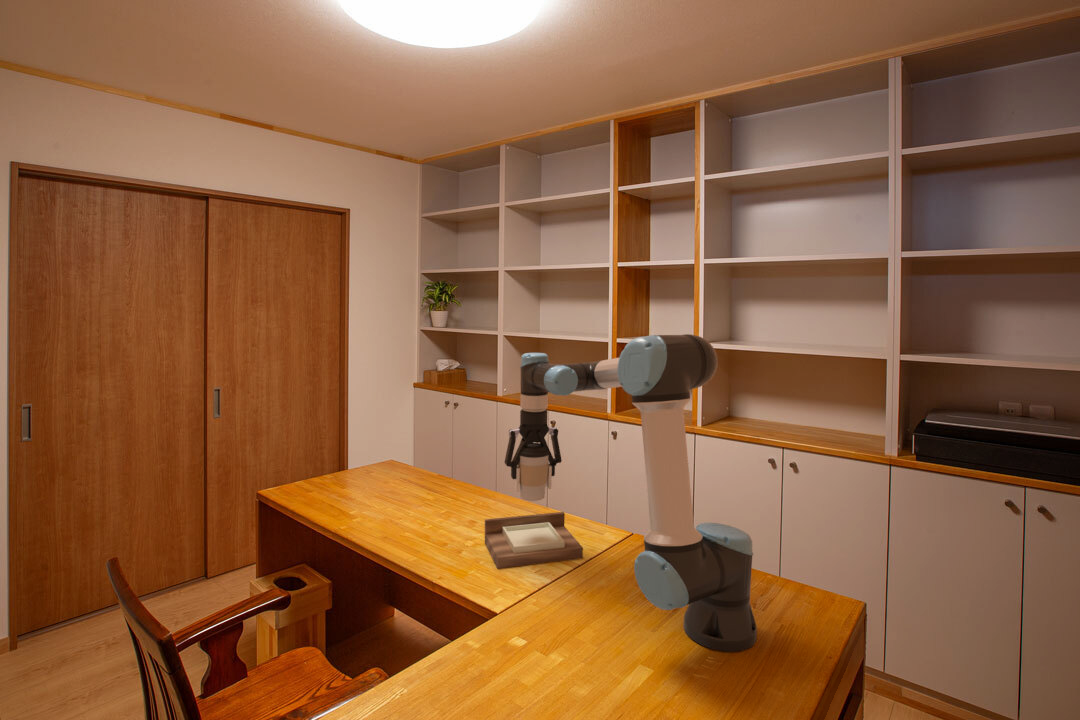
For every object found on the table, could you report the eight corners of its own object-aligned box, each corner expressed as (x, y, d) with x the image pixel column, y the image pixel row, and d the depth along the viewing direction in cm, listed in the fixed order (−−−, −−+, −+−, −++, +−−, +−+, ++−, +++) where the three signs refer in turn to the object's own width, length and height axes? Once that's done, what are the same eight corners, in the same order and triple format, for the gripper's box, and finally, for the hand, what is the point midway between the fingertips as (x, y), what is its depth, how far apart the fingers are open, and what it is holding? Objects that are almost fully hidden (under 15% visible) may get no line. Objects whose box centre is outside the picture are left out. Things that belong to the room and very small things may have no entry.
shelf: (582, 558, 164) (583, 533, 164) (497, 568, 158) (497, 543, 157) (562, 534, 181) (563, 511, 180) (484, 542, 174) (484, 519, 173)
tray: (564, 547, 164) (564, 541, 164) (514, 553, 160) (514, 546, 160) (548, 528, 178) (549, 522, 177) (502, 532, 174) (502, 526, 173)
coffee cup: (551, 492, 171) (552, 441, 169) (545, 503, 162) (546, 449, 161) (520, 490, 173) (521, 439, 171) (512, 500, 164) (513, 447, 162)
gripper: (566, 404, 171) (564, 481, 174) (493, 408, 165) (492, 487, 168) (575, 410, 164) (573, 489, 167) (499, 413, 158) (498, 496, 161)
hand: (532, 488), depth 167 cm, fingers closed on coffee cup, 8 cm apart
